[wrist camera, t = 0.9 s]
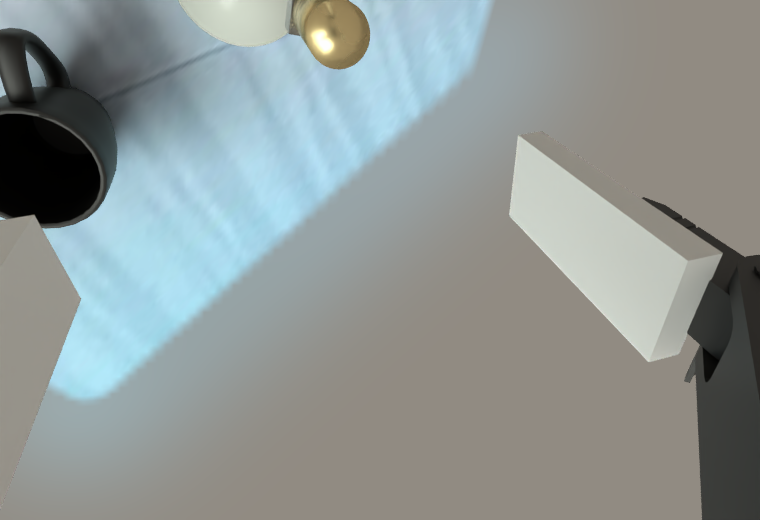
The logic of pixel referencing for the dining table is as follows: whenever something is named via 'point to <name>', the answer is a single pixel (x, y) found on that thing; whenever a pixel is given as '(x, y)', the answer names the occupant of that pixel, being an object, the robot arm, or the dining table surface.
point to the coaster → (239, 20)
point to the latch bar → (330, 30)
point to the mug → (50, 139)
